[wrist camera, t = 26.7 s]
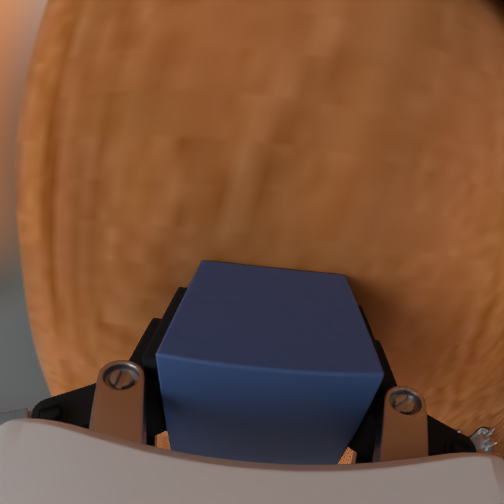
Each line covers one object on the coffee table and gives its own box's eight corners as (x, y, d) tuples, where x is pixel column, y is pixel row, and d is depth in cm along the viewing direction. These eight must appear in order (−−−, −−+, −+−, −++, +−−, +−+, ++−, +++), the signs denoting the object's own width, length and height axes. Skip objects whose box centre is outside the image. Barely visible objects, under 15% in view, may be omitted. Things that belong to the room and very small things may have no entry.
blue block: (201, 258, 11) (154, 353, 6) (345, 274, 11) (386, 374, 6) (200, 366, 13) (173, 464, 8) (318, 378, 13) (329, 478, 8)
